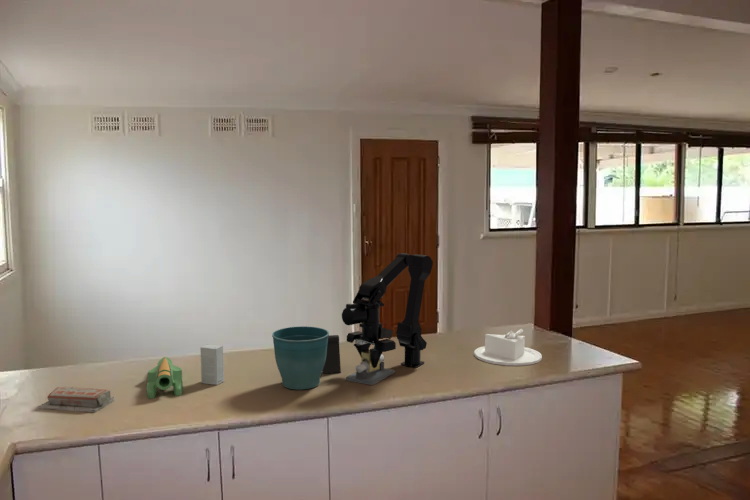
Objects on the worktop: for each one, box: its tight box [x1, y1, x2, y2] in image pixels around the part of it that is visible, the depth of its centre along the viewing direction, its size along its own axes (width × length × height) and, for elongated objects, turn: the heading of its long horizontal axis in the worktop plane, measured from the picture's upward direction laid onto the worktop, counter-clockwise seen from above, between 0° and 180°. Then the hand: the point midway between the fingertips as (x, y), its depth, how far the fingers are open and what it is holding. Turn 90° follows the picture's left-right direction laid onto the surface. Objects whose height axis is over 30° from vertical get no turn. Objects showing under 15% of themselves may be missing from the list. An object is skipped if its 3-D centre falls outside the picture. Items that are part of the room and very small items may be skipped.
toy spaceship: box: [146, 356, 184, 399], centre depth 201 cm, size 32×10×7 cm, turn 18°
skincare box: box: [199, 344, 225, 386], centre depth 199 cm, size 6×4×12 cm
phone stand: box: [322, 334, 342, 375], centre depth 213 cm, size 9×6×12 cm, turn 12°
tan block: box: [361, 349, 380, 372], centre depth 206 cm, size 5×4×6 cm
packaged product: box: [38, 386, 115, 413], centre depth 180 cm, size 18×5×10 cm
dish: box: [473, 328, 542, 367], centre depth 231 cm, size 25×25×11 cm
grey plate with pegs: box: [345, 353, 395, 386], centre depth 206 cm, size 15×10×6 cm, turn 150°
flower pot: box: [271, 325, 330, 391], centre depth 197 cm, size 18×18×17 cm
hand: (370, 366), depth 206 cm, fingers closed on tan block, 4 cm apart
